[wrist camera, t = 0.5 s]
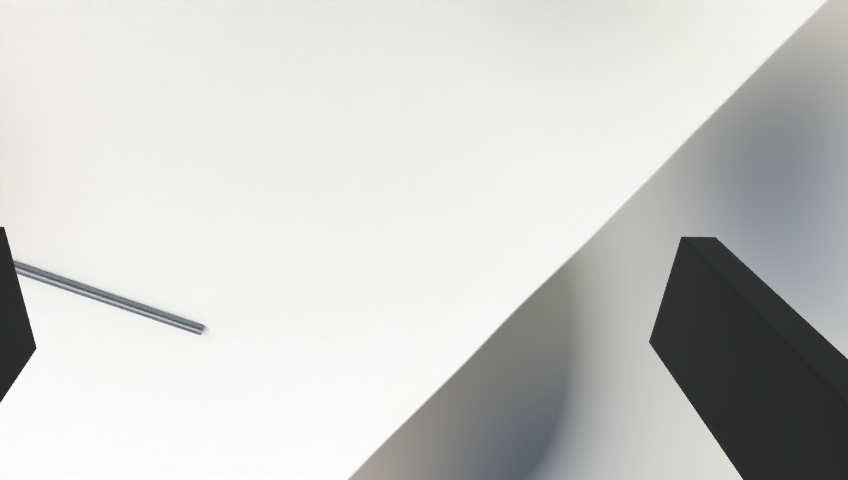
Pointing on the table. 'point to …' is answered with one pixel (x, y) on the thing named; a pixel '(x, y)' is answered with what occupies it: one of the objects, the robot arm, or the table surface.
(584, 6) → the table surface
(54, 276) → the rod
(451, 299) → the table surface
